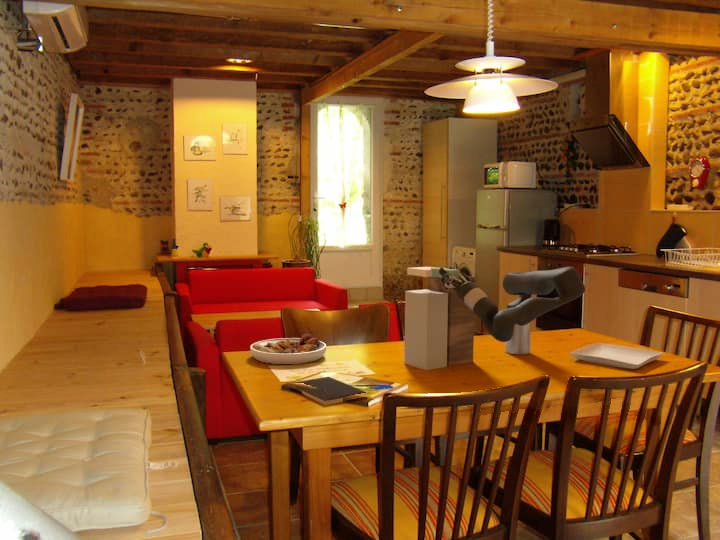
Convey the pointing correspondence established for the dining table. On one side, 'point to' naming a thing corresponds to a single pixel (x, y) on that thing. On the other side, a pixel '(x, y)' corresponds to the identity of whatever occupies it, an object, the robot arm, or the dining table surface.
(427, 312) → the tall grey pillar
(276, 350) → the bowl
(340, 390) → the hardcover book
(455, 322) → the wood grain pillar
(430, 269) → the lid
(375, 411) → the dining table surface
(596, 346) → the square plate
